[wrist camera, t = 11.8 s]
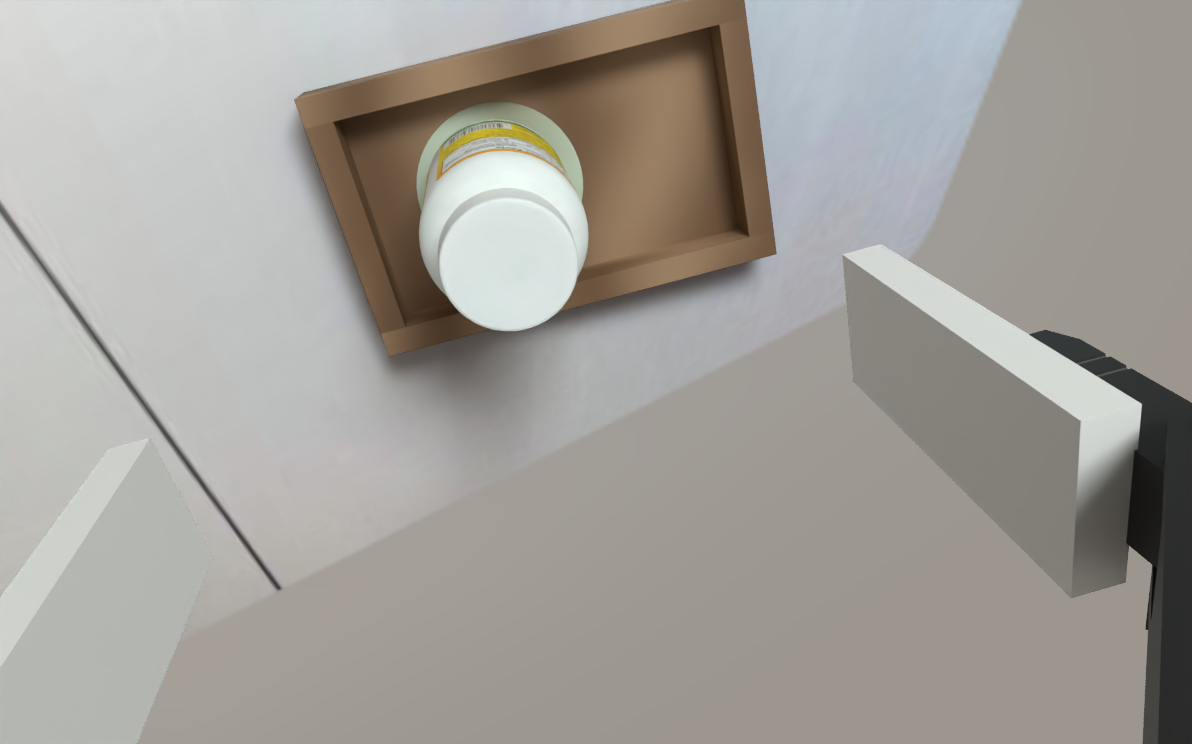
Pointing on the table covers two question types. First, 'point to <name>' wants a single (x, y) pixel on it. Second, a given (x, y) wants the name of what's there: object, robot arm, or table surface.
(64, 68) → the table surface
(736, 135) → the tray
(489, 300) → the supplement bottle
